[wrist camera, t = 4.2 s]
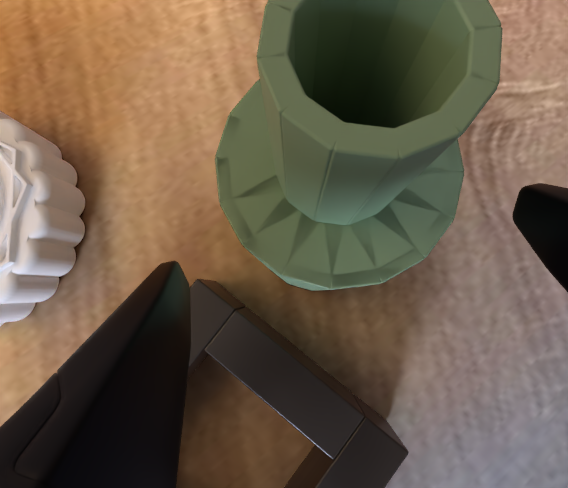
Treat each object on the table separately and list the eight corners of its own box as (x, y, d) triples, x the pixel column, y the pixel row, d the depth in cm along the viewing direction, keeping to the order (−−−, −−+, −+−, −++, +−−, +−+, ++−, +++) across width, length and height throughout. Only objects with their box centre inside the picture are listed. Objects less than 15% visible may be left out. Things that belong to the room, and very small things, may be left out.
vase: (391, 224, 18) (725, -6, 4) (324, 312, 17) (444, 400, 3) (304, 160, 19) (331, -223, 5) (237, 243, 18) (44, 85, 4)
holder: (388, 421, 16) (410, 452, 13) (244, 623, 15) (231, 709, 12) (214, 280, 18) (197, 278, 15) (71, 457, 17) (19, 496, 14)
